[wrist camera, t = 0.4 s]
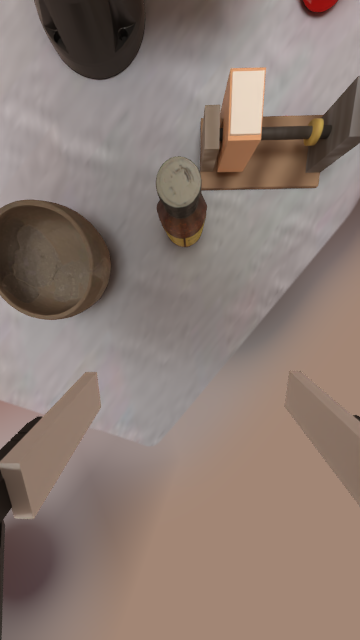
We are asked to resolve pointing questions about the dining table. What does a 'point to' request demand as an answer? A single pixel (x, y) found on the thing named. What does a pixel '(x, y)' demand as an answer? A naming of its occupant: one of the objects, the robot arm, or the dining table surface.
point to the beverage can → (319, 5)
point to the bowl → (50, 260)
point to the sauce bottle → (181, 201)
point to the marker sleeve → (241, 118)
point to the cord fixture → (285, 147)
